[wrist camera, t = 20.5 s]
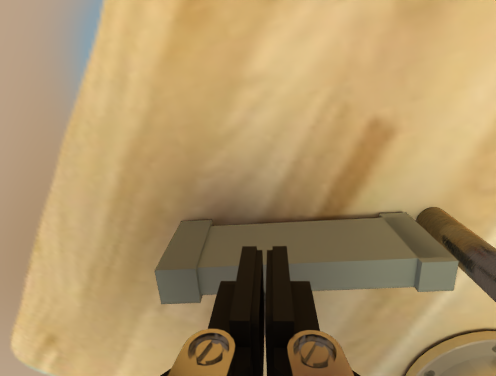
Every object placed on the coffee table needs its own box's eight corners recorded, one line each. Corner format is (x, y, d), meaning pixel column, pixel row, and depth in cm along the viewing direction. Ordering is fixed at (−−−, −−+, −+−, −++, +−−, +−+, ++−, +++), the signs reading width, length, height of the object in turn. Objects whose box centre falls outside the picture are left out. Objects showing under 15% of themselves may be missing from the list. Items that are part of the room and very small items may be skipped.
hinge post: (443, 232, 22) (529, 305, 15) (414, 233, 22) (486, 305, 15) (448, 206, 22) (540, 270, 14) (418, 207, 22) (495, 270, 15)
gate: (406, 209, 21) (459, 257, 16) (403, 238, 22) (452, 293, 16) (181, 221, 22) (154, 270, 17) (185, 248, 23) (161, 304, 17)
